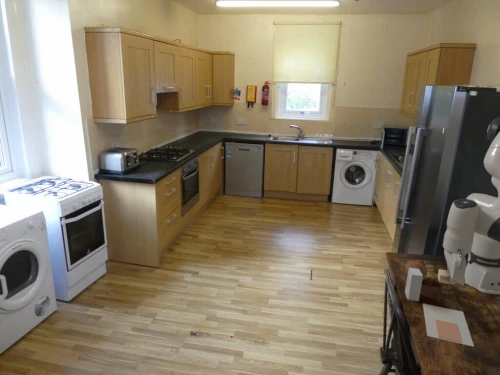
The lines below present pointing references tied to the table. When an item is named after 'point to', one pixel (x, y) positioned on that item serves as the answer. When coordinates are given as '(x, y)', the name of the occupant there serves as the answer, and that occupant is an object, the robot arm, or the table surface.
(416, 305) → the table surface
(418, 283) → the skincare box
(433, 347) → the table surface
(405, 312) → the table surface
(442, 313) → the mat
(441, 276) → the beige angular block
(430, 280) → the table surface
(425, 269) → the onion
